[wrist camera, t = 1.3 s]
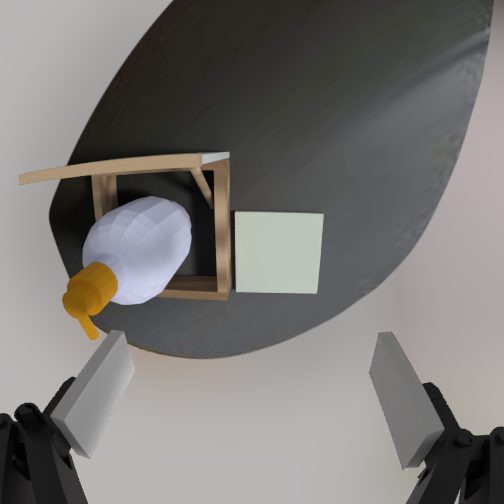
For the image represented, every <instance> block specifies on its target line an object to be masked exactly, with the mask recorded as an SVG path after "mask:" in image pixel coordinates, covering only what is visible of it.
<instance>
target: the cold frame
mask: <svg viewBox="0 0 504 504" xmlns="http://www.w3.org/2000/svg"><path fill="white" fill-rule="evenodd" d="M201 170H214V197H213V195H212V193H211V191H210V189H209V186H208V184H207V182H206V180H205V178H204V176H203V173H202V171H201ZM170 171H191V173H192V175H193V177H194V178H195V180H196V182H197V184H198V186H199V188H200V190H201V191H202V193H203V195H204V197H205V199H206V201H207V202H208V204H209V206H210V208H211V209H215V234H216V261H217V277H211V276H184V275H173V277H172V278H171V279H170V281H169V282H168V284H167V285H166V287H165V288H164V289H163V291H162V292H161V293H159V294H157V295H156V296H155V297H170V298H187V299H206V300H227V299H228V295H229V291H230V287H231V250H230V184H229V159H222V160H218V161H214V162H210V163H206V164H202V166H201V167H190V168H168V169H151V170H137V171H124V172H113V173H103V174H94V175H92V189H93V200H94V210H95V219H96V222H97V221H98V220H99V219H101V218H102V217H103V216H104V215H105V214H106V213H108V212H110V211H112V210H114V209H117V208H118V201H117V188H116V175H124V174H137V173H151V172H170ZM214 198H215V199H214Z"/></svg>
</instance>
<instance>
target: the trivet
mask: <svg viewBox="0 0 504 504" xmlns="http://www.w3.org/2000/svg"><path fill="white" fill-rule="evenodd" d="M322 229H323V213H317V212H284V211H235V254H236V292H262V293H317V286H318V276H319V266H320V254H321V242H322Z"/></svg>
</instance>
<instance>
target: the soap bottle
mask: <svg viewBox="0 0 504 504" xmlns="http://www.w3.org/2000/svg"><path fill="white" fill-rule="evenodd" d="M190 231H191V223H190V218H189V215H188V214H187V212H186V211H185V209H184V208H183V207H182V206H181V205H179V204H178V203H176V202H174V201H170V200H166V199H163V198H158V197H153V196H149V197H145V198H140V199H136V200H134V201H132V202H130V203H127V204H125V205H123V206H121V207H119V208H117V209H114V210H112V211H110V212H108V213H106V214H105V215H104V216H103V217H102V218H101V219H99V220H98V221H97V222H96V223H95V224H94V225H93V226H92V228H91V229H90V232H89V234H88V236H87V239H86V241H85V243H84V247H83V266H84V269H83V270H82V271H80V272H79V273H78V274H76V275H75V276H74V277H73V278H71V279H70V280H69V283H68V285H67V292H66V293H65V294H64V295H63V298H62V300H63V305H64V308H65V309H66V311H67V312H68V313H69V314H70V315H71V316H72V317H74V318H77V319H78V321H79V322H80V324H81V326H82V327H83V329H84V330H85V332H86V334H87V335H88V337H89V338H90V340H95V339H97V338H98V335H99V333H98V332H97V330H96V328H95V327H94V325H93V323H92V322H91V320H90V318H89V317H88V315H96V314H97V313H99V312H100V311H101V310H102V309H103V308H104V307H105V305H106V304H107V303H108V302H109V301H112V302H116V303H119V304H122V305H129V304H139V303H144V302H145V301H147V300H149V299H151V298H152V297H154V296H156V295H157V294H159V293H161V292H162V291H163V289H164V288H165V287H166V285H167V284H168V282H169V281H170V279H171V278H172V277H173V275H174V274H175V272H176V271H177V269H178V268H179V267H180V265H181V264H182V262H183V261H184V259H185V258H186V256H187V255H188V253H189V250H190V244H191V238H192V237H191V233H190Z"/></svg>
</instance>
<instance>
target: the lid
mask: <svg viewBox="0 0 504 504" xmlns="http://www.w3.org/2000/svg"><path fill="white" fill-rule="evenodd" d="M226 158H229V152H206V153H183V154H166V155H152V156H140V157H130V158H120V159H111V160H103V161H96V162H90V163H83V164H77V165H71V166H65V167H59V168H53V169H47V170H42V171H36V172H32V173H27V174H22V175H19V183H20V185H22V184H29V183H35V182H41V181H47V180H54V179H61V178H69V177H77V176H85V175H94V174H103V173H113V172H124V171H137V170H151V169H168V168H190V167H201V166H202V164H206V163H210V162H214V161H218V160H222V159H226Z"/></svg>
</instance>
